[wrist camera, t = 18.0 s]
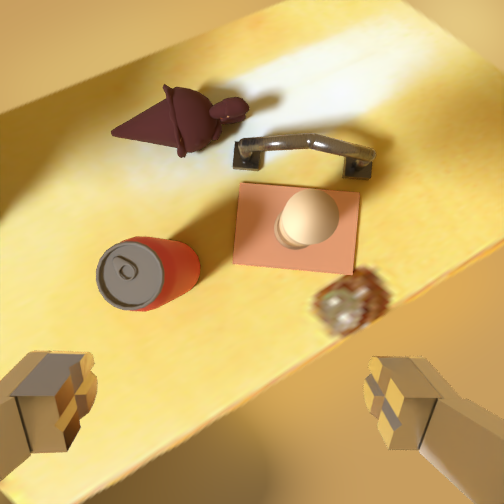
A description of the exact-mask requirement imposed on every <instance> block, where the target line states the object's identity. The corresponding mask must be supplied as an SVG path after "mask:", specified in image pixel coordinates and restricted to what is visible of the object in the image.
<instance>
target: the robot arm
mask: <svg viewBox="0 0 504 504" xmlns="http://www.w3.org/2000/svg"><path fill="white" fill-rule="evenodd" d="M94 364H95V363H94V358H93V354H91V353H90V352H73V351H37V350H35V351H32V352H29V353H28V354H27V355H26V356H25V357H24V358H23V359H22V360H21V361H20V362H19V363H18V364H17V365H16V366H15V367H14V368H13V369H12V370H11V371H10V372H9V373H8V374H7V375H6V376H5V377H4V378H3V379H2V380H1V381H0V481H1V480H3V479H4V478H5V477H6V476H7V475H8V474H10V473H11V472H12V471H13V470H14V469H15V468H17V467H18V466H19V465H20V464H21V463H23V462H24V461H25V460H26V459H27V458H28V457H30V456H31V454H30V453H54V452H67V451H68V450H69V448H70V446H71V444H72V442H73V441H74V439H75V437H76V435H77V433H78V432H79V430H80V428H81V426H80V421H79V420H80V419H81V418H82V417H84V416H85V415H86V414H88V413H89V412H90V410H91V408H92V406H93V404H94V401H95V397H96V394H97V384H98V383H97V376H96V375H95V374H93V373H92V372H91V371H90V370H91V369H92V367H93V366H94ZM368 368H369V370H370V371H371V374H370V375H369V376H368V377H367V378H366V379H365V382H364V387H363V390H364V399H365V403H366V406H367V408H368V410H369V412H370V413H371V414H372V415H373V416H375V417H376V418H377V419H378V420H379V421H378V424H377V428H378V430H379V432H380V434H381V436H382V438H383V440H384V442H385V444H386V446H387V448H388V449H389V450H391V449H392V450H419V453H421V454H422V455H423V456H424V457H425V458H426V459H427V460H428V461H429V462H430V463H431V464H432V465H433V466H435V467H436V468H437V469H438V470H439V471H440V472H441V473H442V474H443V475H444V476H445V477H446V478H447V479H448V480H450V481H451V482H452V483H453V484H454V485H455V486H456V487H457V488H458V489H459V490H460V491H461V492H462V493H464V494H465V495H466V496H467V497H468V498H469V499H470V500H471V501H472V502H473V503H474V504H504V419H502V418H500V417H498V416H497V415H495V414H493V413H491V412H490V411H488V410H486V409H484V408H483V407H481V406H479V405H477V404H476V403H474V402H472V401H471V400H469V399H462V398H461V397H460V396H459V395H458V394H457V392H456V391H455V390H454V389H453V388H452V387H451V386H450V385H449V383H448V382H447V381H446V380H445V379H444V378H443V377H442V376H441V375H440V373H439V372H438V371H437V370H436V369H435V368H434V367H433V365H431V363H430V362H429V361H428V360H427V359H426V358H424V357H422V356H405V357H384V356H382V357H380V356H376V357H375V356H372V358H371V359H370V361H369V365H368Z"/></svg>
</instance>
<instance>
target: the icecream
mask: <svg viewBox="0 0 504 504" xmlns="http://www.w3.org/2000/svg"><path fill="white" fill-rule="evenodd" d="M163 89H164V91H165V93H166V99H164V100H163V101H161V102H159V103H157V104H156V105H154V106H152V107H151V108H149V109H147V110H146V111H144V112H142V113H140V114H139V115H137V116H135V117H134V118H132V119H130V120H129V121H127V122H125V123H123V124H122V125H120V126H118V127H116V128H115V129H113V130H112V131H111V134H112V136H115V137H119V138H125V139H131V140H137V141H142V142H148V143H153V144H159V145H164V146H170V147H175V148H177V154H178V156H179V157H181V158H182V157H184V158H185V156H186V154H187V152H189V153H192V152H195V151H198V150H201V149H202V148H204V147H205V146H206V145H208V144H209V143H210V141H211V140H218V138H219V136H220V134H221V132H222V125H221V124H232V123H236V122H240V121H242V120H244V119H245V117H246V116H245V114H246V113H247V112H248V111H249V106H248V104H247V103H246V102H245V101H244V100H243V99H242V98H239V97H232V98H227V99H224V100H223V101H222V102H219V103H217V104H215V105H214V106H213V105H212V103H211V102H210V101H209V99H208V98H207V97H205V96H204V95H202V94H201V93H199V92H197V91H194V90H191V89H188V88H182V87H175V88H173V89H172V88H170V87H168V86H167V85H165V84H164V85H163Z"/></svg>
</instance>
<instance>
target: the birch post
mask: <svg viewBox="0 0 504 504" xmlns="http://www.w3.org/2000/svg"><path fill="white" fill-rule="evenodd" d="M338 223H339V210H338V207H337V204H336V203H335V201H334V200H333V198H332V197H331V196H330V195H328V194H327V193H325V192H323V191H321V190H318V189H305V190H302V191H299V192H297V193H296V194H294V195H293V196H292V197H291V198H290V199H289V200H288V202H287V204H286V206H285V208H284V210H283V211H281V212H280V214H279V215H278V216H277V218H276V220H275V224H274V233H275V236H276V238H277V240H278V242H279V243H280V244H281V245H283V246H284V247H286V248H288V249H292V250H299V249H303V248H306V247H308V246H309V245H312V244H318V243H321V242H323V241H325V240H327V239H328V238H329V237H331V236H332V234H333V233H334V232H335V230H336V228H337V226H338Z"/></svg>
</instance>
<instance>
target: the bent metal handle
mask: <svg viewBox="0 0 504 504" xmlns="http://www.w3.org/2000/svg"><path fill="white" fill-rule="evenodd" d="M293 149H313V150H318V151H322V152H326V153H331V154H335V155H339V156H344V168H343V178H349V179H362V180H369V179H370V178H371V170H372V161H373V160H374V159H375V157H376V151H375V150H374V149H373V148H369V147H365V146H361V145H357V144H353V143H350V142H346V141H342V140H338V139H334V138H330V137H326V136H322V135H318V134H314V133H305V134H292V135H278V136H265V137H252V138H243V139H241V140H240V141H239V142H235V148H234V158H233V169H239V170H252V171H258V169H259V158H260V151H275V150H293Z"/></svg>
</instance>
